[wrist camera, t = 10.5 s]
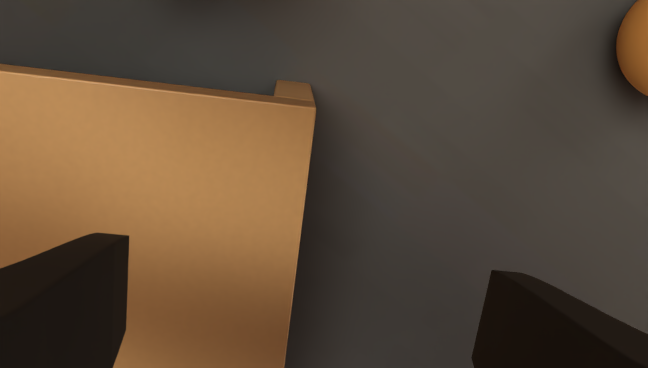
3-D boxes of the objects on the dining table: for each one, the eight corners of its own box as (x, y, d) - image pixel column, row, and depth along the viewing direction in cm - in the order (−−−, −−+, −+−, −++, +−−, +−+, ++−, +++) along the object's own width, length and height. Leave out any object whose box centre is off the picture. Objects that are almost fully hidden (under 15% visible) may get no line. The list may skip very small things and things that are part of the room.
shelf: (275, 377, 24) (270, 506, 18) (-197, 341, 23) (-381, 469, 16) (310, 83, 21) (319, 118, 15) (-243, 16, 19) (-496, 23, 13)
